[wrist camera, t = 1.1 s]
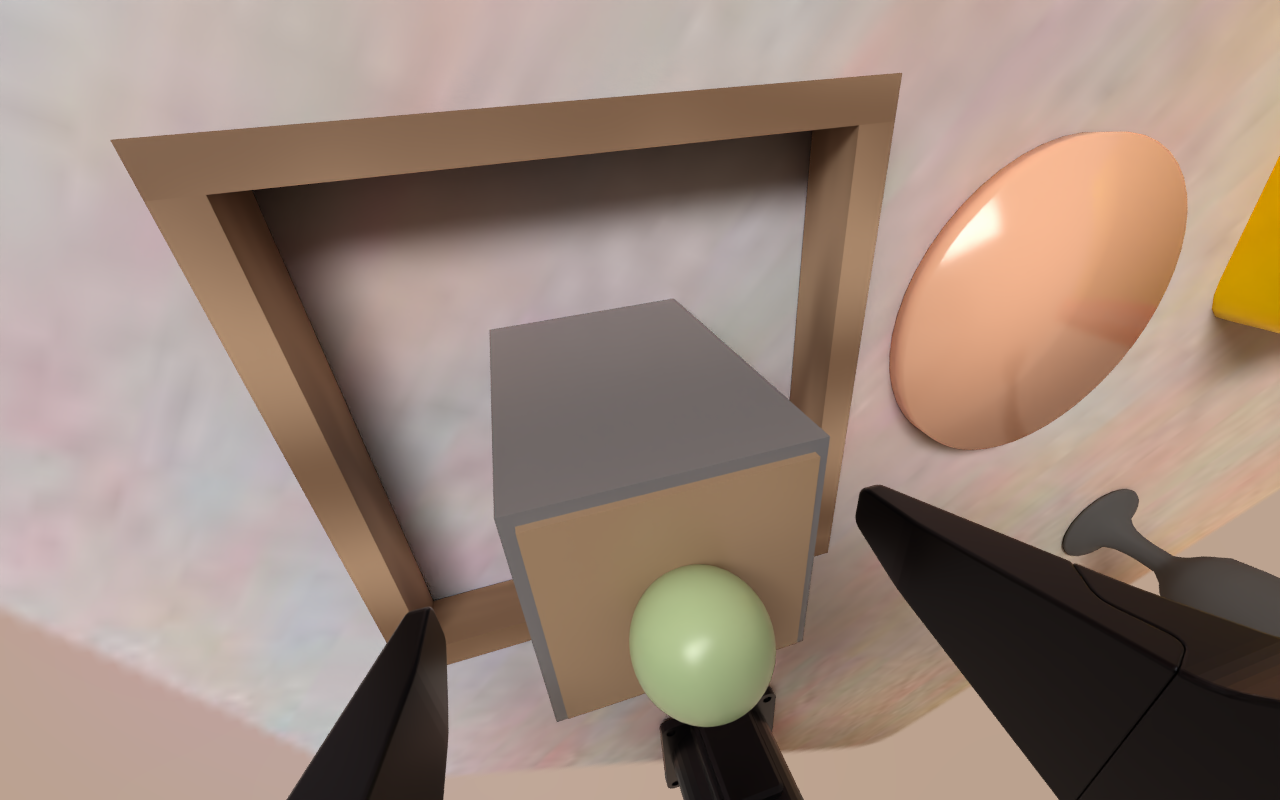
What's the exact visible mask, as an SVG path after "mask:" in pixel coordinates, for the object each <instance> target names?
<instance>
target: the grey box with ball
mask: <svg viewBox="0 0 1280 800" xmlns="http://www.w3.org/2000/svg"><path fill="white" fill-rule="evenodd" d="M490 370H491V412H492V455H493V497H494V520H495V523H496V527H497V530H498V533H499V536H500V539H501V543H502V546H503V549H504V552H505V556H506V559H507V562H508V565H509V569H510V572H511V575H512V578H513V582H514V585H515V588H516V591H517V595H518V598H519V601H520V604H521V607H522V611H523V614H524V617H525V620H526V624H527V627H528V630H529V633H530V637H531V640H532V643H533V646H534V650H535V653H536V656H537V659H538V663H539V666H540V669H541V672H542V675H543V679H544V682H545V685H546V688H547V692H548V695H549V698H550V701H551V705H552V708H553V711H554V714H555V718H556V721H557V722H559V721H562V720H565V719H569V718H572V717H575V716H578V715H581V714H585V713H588V712H591V711H594V710H597V709H600V708H603V707H606V706H609V705H612V704H615V703H618V702H621V701H624V700H627V699H630V698H633V697H636V696H639V695H642V694H645V693H646V695H647V696H648V697H649V698H650V700H651V701H652V702H653V703H654V704H655V705H656V706H657V707H658V708H659V709H661V710H662V711H663V712H665V713H666V714H667V715H669V716H670V717H672V718H674V719H676V720H678V721H680V722H683V723H686V724H689V725H693V726H700V727H714V726H720V725H724V724H727V723H730V722H733V721H735V720H737V719H739V718H740V717H742V716H743V715H745V714H746V713H747V712H749V711H750V710H751V709H752V708H753V707H754V706H755V705H756V704H757V703H758V702H759V700H760V699H761V697H762V696H763V694H764V693H765V691H766V689H767V687H768V685H769V683H770V680H771V678H772V674H773V670H774V666H775V658H776V650H777V649H780V648H784V647H787V646H790V645H793V644H796V643H797V642H800V641H802V640H803V633H804V625H805V618H806V611H807V603H808V596H809V589H810V581H811V574H812V566H813V559H814V552H815V544H816V537H817V530H818V522H819V515H820V508H821V500H822V493H823V485H824V478H825V471H826V463H827V456H828V449H829V441H830V436H829V435H828V434H827V433H826V432H825V431H824V430H822V429H821V428H820V427H819V426H818V425H817V424H816V423H814V422H813V421H812V420H811V419H810V418H809V417H808V416H806V415H805V414H804V413H803V412H802V411H801V410H800V409H799V408H797V407H796V406H795V405H794V404H793V403H792V402H791V401H789V400H788V399H787V398H786V397H785V396H784V395H783V394H782V393H780V392H779V391H778V390H777V389H776V388H775V387H774V386H772V385H771V384H770V383H769V382H768V381H767V380H766V379H765V378H763V377H762V376H761V375H760V374H759V373H758V372H757V371H755V370H754V369H753V368H752V367H751V366H750V365H749V364H748V363H746V362H745V361H744V360H743V359H742V358H741V357H740V356H738V355H737V354H736V353H735V352H734V351H733V350H732V349H730V348H729V347H728V346H727V345H726V344H725V343H724V342H723V341H721V340H720V339H719V338H718V337H717V336H716V335H715V334H713V333H712V332H711V331H710V330H709V329H708V328H707V327H706V326H704V325H703V324H702V323H701V322H700V321H699V320H698V319H696V318H695V317H694V316H693V315H692V314H691V313H690V312H689V311H687V310H686V309H685V308H684V307H683V306H682V305H681V304H679V303H678V302H677V301H676V300H675V299H668V300H663V301H657V302H651V303H645V304H639V305H633V306H627V307H622V308H616V309H610V310H604V311H598V312H592V313H586V314H581V315H575V316H569V317H563V318H557V319H551V320H545V321H540V322H534V323H528V324H522V325H516V326H510V327H504V328H498V329H493V330H490Z"/></svg>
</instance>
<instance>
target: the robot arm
mask: <svg viewBox="0 0 1280 800" xmlns="http://www.w3.org/2000/svg"><path fill="white" fill-rule="evenodd" d="M856 523H857V525H858V527H859V529H860V531H861V532H862V534H863V536H864V537H865V539H866V540H867V542H868V544H869V545H870V547H871V548H872V550H873V552H874V553H875V555H876V556H877V558H878V560H879V561H880V563H881V564H882V566H883V568H884V569H885V571H886V572H887V574H888V576H889V577H890V579H891V580H892V582H893V583H894V585H895V586H896V588H897V589H898V590H899V592H900V593H901V595H902V596H903V597H904V599H905V600H906V601H907V602H908V604H909V605H910V606H911V608H912V609H913V610H914V612H915V613H916V614H917V615H918V617H919V618H920V619H921V621H922V622H923V623H924V625H925V626H926V627H927V629H928V630H929V631H930V632H931V634H932V635H933V636H934V638H935V639H936V640H937V642H938V643H939V644H940V645H941V647H942V648H943V649H944V651H945V652H946V653H947V655H948V656H949V657H950V658H951V660H952V661H953V662H954V664H955V665H956V666H957V668H958V669H959V670H960V671H961V673H962V674H963V675H964V677H965V678H966V679H967V681H968V682H969V683H970V684H971V686H972V687H973V688H974V690H975V691H976V692H977V694H979V696H980V697H981V699H982V700H983V701H984V703H985V704H986V705H987V707H988V708H989V709H990V710H991V712H992V713H993V714H994V716H995V717H996V718H997V719H998V721H999V722H1000V723H1001V725H1002V726H1003V727H1004V728H1005V730H1006V731H1007V733H1008V734H1009V735H1010V736H1011V738H1012V739H1013V740H1014V742H1015V743H1016V744H1017V745H1018V747H1019V748H1020V749H1021V751H1022V752H1023V753H1024V755H1025V756H1026V757H1027V759H1028V760H1029V761H1030V763H1031V764H1032V765H1033V766H1034V768H1035V769H1036V770H1037V771H1038V773H1039V774H1040V776H1041V777H1042V778H1043V779H1044V780H1045V782H1046V783H1047V785H1048V786H1049V787H1050V789H1051V790H1052V791H1053V792H1054V794H1055V795H1056V796H1057V798H1058V799H1059V800H1280V638H1279V637H1276V636H1273V635H1270V634H1267V633H1264V632H1261V631H1258V630H1256V629H1253V628H1250V627H1247V626H1244V625H1241V624H1238V623H1235V622H1233V621H1230V620H1227V619H1224V618H1221V617H1218V616H1215V615H1212V614H1210V613H1207V612H1204V611H1201V610H1198V609H1195V608H1192V607H1190V606H1187V605H1184V604H1181V603H1178V602H1175V601H1172V600H1170V599H1167V598H1164V597H1161V596H1159V595H1156V594H1153V593H1150V592H1147V591H1144V590H1142V589H1139V588H1136V587H1134V586H1131V585H1128V584H1126V583H1123V582H1121V581H1118V580H1116V579H1113V578H1111V577H1108V576H1105V575H1103V574H1100V573H1098V572H1095V571H1093V570H1090V569H1088V568H1085V567H1083V566H1081V565H1078V564H1072V563H1071V562H1070V561H1068V560H1066V559H1063V558H1061V557H1058V556H1056V555H1053V554H1051V553H1048V552H1046V551H1043V550H1041V549H1038V548H1036V547H1033V546H1031V545H1028V544H1026V543H1024V542H1021V541H1019V540H1016V539H1014V538H1011V537H1009V536H1006V535H1004V534H1001V533H999V532H996V531H994V530H991V529H989V528H987V527H984V526H982V525H979V524H977V523H974V522H972V521H969V520H967V519H964V518H962V517H959V516H957V515H954V514H952V513H950V512H947V511H945V510H942V509H940V508H937V507H935V506H932V505H930V504H927V503H925V502H922V501H920V500H917V499H915V498H912V497H910V496H908V495H905V494H903V493H900V492H898V491H895V490H893V489H890V488H888V487H885V486H883V485H874V486H870V487H866V488H863V489H862V490H861V491H860V494H859V499H858V505H857V510H856ZM775 698H776V696H775V694H774V692H773V690H772V688H771V687H767V689H766V691H765V693H764V694H763V696H762V697H761V699H760V700H759V702H758V703H757V704H756V705H755V706H754V707H753V708H752V709H751V710H750V711H749V712H747V713H746V714H745V715H743V716H742V717H740V718H739V719H737V720H735V721H733V722H730V723H727V724H724V725H720V726H714V727H700V726H693V725H689V724H686V723H683V722H680V721H678V720H676V719H671V720H668V721H666V722H664V723H663V724H662V725H661V726H660V735H661V744H662V752H663V761H664V770H665V778H666V782H667V786H668V788H676V787H679V786H680V789H681V793H682V796H683V799H684V800H804V799H803V797H802V795H801V794H800V791H799V789H798V787H797V785H796V783H795V781H794V778H793V776H792V774H791V772H790V770H789V768H788V766H787V764H786V762H785V760H784V758H783V755H782V753H781V751H780V749H779V747H778V745H777V743H776V741H775V739H774V737H773V734H772V728H773V718H774V708H775ZM447 748H448V687H447V651H446V639H445V635H444V632H443V630H442V628H441V625H440V623H439V621H438V619H437V616H436V614H435V612H434V610H433V609H432V608H431V607H424V608H420V609H416V610H413V611H410V612H408V613H407V614H406V615H405V616H404V617H403V619H402V621H401V622H400V624H399V625H398V627H397V628H396V630H395V631H394V633H393V635H392V636H391V638H390V639H389V641H388V642H387V644H386V646H385V647H384V649H383V650H382V652H381V653H380V655H379V656H378V658H377V660H376V661H375V663H374V664H373V666H372V667H371V669H370V670H369V672H368V674H367V675H366V677H365V678H364V680H363V681H362V683H361V684H360V686H359V688H358V689H357V691H356V692H355V694H354V695H353V697H352V699H351V700H350V702H349V703H348V705H347V706H346V708H345V709H344V711H343V713H342V714H341V716H340V717H339V719H338V720H337V722H336V723H335V725H334V727H333V728H332V730H331V731H330V733H329V734H328V736H327V738H326V739H325V741H324V742H323V744H322V745H321V747H320V748H319V750H318V752H317V753H316V755H315V756H314V758H313V759H312V761H311V762H310V764H309V766H308V767H307V769H306V770H305V772H304V773H303V775H302V777H301V778H300V780H299V781H298V783H297V784H296V786H295V788H294V789H293V791H292V792H291V794H290V795H289V797H288V798H287V800H443V795H444V783H445V772H446V760H447Z"/></svg>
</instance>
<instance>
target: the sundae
mask: <svg viewBox="0 0 1280 800" xmlns="http://www.w3.org/2000/svg"><path fill="white" fill-rule="evenodd" d="M1138 503H1139V499H1138V496H1137V494H1136V493H1135V492H1134V491H1132V490H1128V489H1123V490H1117V491H1114V492H1111V493H1109V494H1107V495H1105V496H1103V497H1101V498H1099V499H1098V500H1096V501H1095V502H1093V503H1092V504H1091V505H1089V506H1088V507H1087V508H1086V509H1085V510H1084V511H1083V512H1082V513H1081V514H1080V515H1079V516H1078V517H1077V518H1076V519H1075V520H1074V522H1073V523H1072V524H1071V526H1070V527H1069V529H1068V531H1067V533H1066V534H1065V537H1064V541H1063V548H1064V550H1065V552H1066V553H1067V554H1069V555H1072V556H1081V555H1085V554H1088V553H1091V552H1093V551H1096V550H1098V549H1099V548H1101V547H1108V548H1113V549H1116V550H1118V551H1120V552H1123V553H1125V554H1127V555H1129V556H1130V557H1132V558H1134V559H1136V560H1137V561H1139V562H1140V563H1142V564H1143V565H1145V566H1146V567H1148V568H1149V569H1151V570H1152V571H1154V573H1155V574H1156V577H1157V579H1158V582H1159V592H1160V596H1161V597H1164V598H1167V599H1170V600H1172V601H1175V602H1178V603H1181V604H1184V605H1187V606H1190V607H1192V608H1195V609H1198V610H1201V611H1204V612H1207V613H1210V614H1212V615H1215V616H1218V617H1221V618H1224V619H1227V620H1230V621H1233V622H1235V623H1238V624H1241V625H1244V626H1247V627H1250V628H1253V629H1256V630H1258V631H1261V632H1264V633H1267V634H1270V635H1273V636H1276V637H1279V638H1280V578H1278V577H1276V576H1274V575H1271V574H1269V573H1267V572H1264V571H1262V570H1259V569H1257V568H1254V567H1252V566H1249V565H1247V564H1244V563H1242V562H1239V561H1237V560H1234V559H1231V558H1217V557H1193V558H1181V557H1175V556H1172V555H1171V554H1169V553H1167V552H1166V551H1164V550H1162V549H1161V548H1159V547H1157V546H1156V545H1154V544H1152V543H1151V542H1150V541H1148V540H1147V539H1146V538H1144V537H1143V536H1142V535H1141V534H1140V533H1139V532H1138V531H1137V530H1136V529H1135V527H1134V526H1133V524H1132V520H1131V518H1132V517H1133V515H1134V514H1135V512H1136V510H1137V507H1138Z"/></svg>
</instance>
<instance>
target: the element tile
mask: <svg viewBox="0 0 1280 800" xmlns="http://www.w3.org/2000/svg"><path fill="white" fill-rule="evenodd" d="M1212 310H1213V312H1214V315H1215V317H1218V318H1221V319H1224V320H1228V321H1232V322H1236V323H1240V324H1244V325H1248V326H1252V327H1256V328H1260V329H1264V330H1268V331H1272V332H1276V333H1280V156H1279V158H1278V160H1277V162H1276V164H1275V167H1274V169H1273V171H1272V173H1271V175H1270V177H1269V179H1268V181H1267V183H1266V185H1265V187H1264V189H1263V192H1262V194H1261V196H1260V198H1259V200H1258V202H1257V204H1256V206H1255V208H1254V210H1253V212H1252V214H1251V216H1250V219H1249V221H1248V223H1247V225H1246V227H1245V229H1244V231H1243V233H1242V235H1241V237H1240V239H1239V241H1238V244H1237V246H1236V248H1235V250H1234V252H1233V254H1232V256H1231V258H1230V260H1229V262H1228V264H1227V266H1226V269H1225V271H1224V273H1223V275H1222V277H1221V279H1220V281H1219V284H1218V286H1217V289H1216V292H1215V294H1214V299H1213V305H1212Z"/></svg>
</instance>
